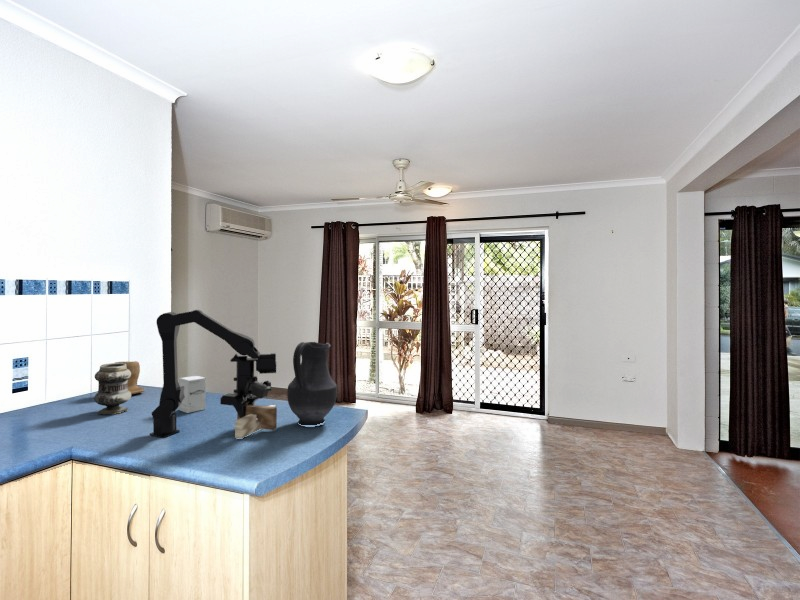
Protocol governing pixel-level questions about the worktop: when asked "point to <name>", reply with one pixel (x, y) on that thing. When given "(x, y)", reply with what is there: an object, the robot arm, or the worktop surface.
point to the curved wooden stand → (133, 377)
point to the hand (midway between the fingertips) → (245, 419)
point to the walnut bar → (263, 415)
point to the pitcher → (311, 384)
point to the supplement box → (193, 394)
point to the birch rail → (247, 425)
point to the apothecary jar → (112, 387)
